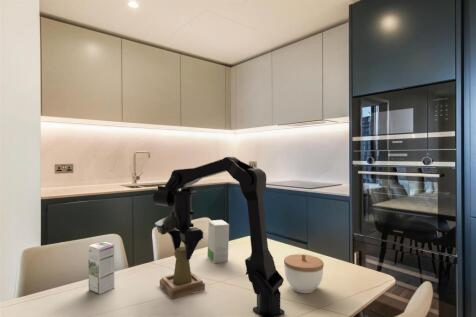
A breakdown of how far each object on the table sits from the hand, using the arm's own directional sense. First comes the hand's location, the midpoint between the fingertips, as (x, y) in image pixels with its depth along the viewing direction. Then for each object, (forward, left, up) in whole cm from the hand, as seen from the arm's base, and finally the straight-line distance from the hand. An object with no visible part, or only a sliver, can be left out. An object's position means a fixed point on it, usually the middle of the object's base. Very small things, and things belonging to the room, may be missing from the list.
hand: (182, 255), depth 96 cm
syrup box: (+13, +22, -11) cm, 28 cm away
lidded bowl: (-22, -33, -11) cm, 41 cm away
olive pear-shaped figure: (0, 0, -9) cm, 9 cm away
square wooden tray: (0, 0, -10) cm, 10 cm away
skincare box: (+16, -23, -11) cm, 30 cm away
